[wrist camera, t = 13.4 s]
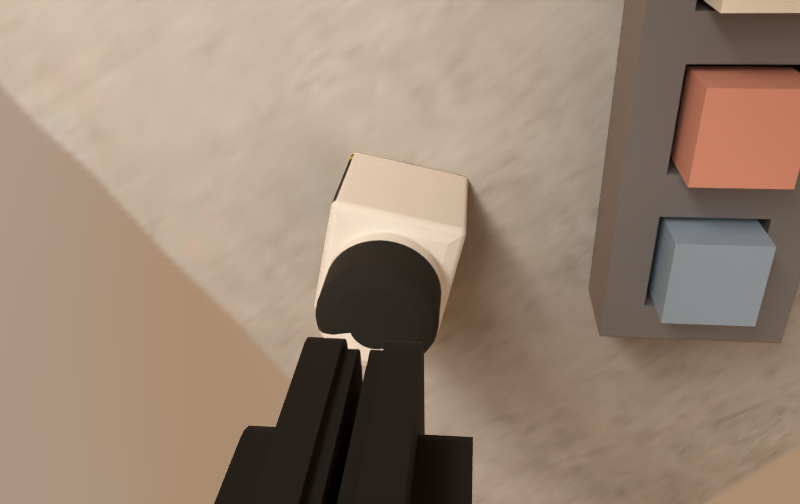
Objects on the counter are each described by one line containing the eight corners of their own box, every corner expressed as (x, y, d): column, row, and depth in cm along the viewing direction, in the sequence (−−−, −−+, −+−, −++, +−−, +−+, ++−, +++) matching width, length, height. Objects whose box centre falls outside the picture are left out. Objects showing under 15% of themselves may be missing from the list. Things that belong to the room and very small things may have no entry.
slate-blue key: (661, 212, 39) (675, 244, 36) (753, 214, 39) (776, 246, 36) (648, 287, 42) (660, 323, 39) (735, 290, 41) (755, 326, 38)
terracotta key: (687, 66, 35) (706, 88, 32) (791, 66, 35) (820, 88, 32) (671, 158, 38) (688, 187, 35) (768, 160, 37) (793, 189, 34)
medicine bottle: (352, 149, 43) (311, 248, 33) (469, 175, 44) (465, 283, 33) (334, 250, 47) (292, 368, 37) (442, 274, 47) (431, 399, 37)
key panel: (648, -187, 34) (672, -189, 29) (877, -193, 33) (938, -197, 28) (588, 289, 47) (599, 336, 42) (752, 294, 46) (780, 343, 41)
